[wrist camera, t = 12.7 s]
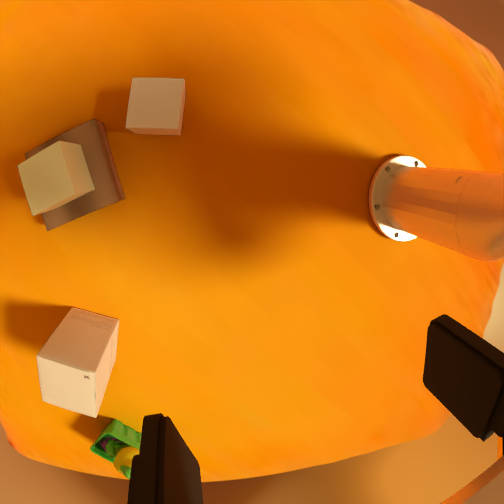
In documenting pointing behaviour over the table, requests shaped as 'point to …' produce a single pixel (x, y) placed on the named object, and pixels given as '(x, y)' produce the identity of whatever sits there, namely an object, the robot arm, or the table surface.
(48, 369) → the supplement box
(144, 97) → the grey block
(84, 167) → the beige block
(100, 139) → the walnut base
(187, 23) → the table surface
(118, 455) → the fruit basket
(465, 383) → the robot arm
